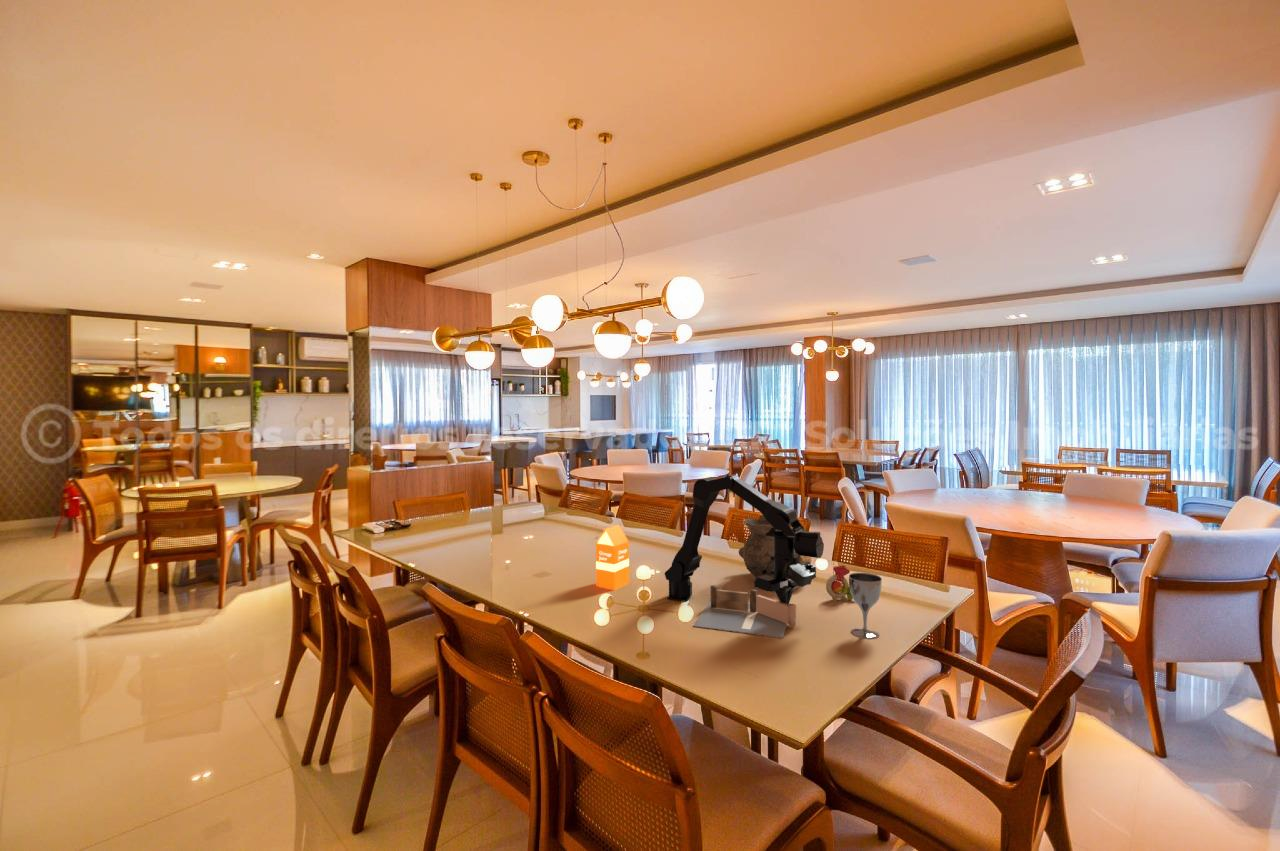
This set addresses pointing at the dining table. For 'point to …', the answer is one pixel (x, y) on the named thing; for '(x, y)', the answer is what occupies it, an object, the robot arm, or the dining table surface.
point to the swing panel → (776, 610)
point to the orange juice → (612, 558)
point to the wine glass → (865, 599)
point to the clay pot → (760, 548)
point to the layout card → (740, 622)
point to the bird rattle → (835, 587)
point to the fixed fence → (732, 599)
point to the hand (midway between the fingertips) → (785, 608)
